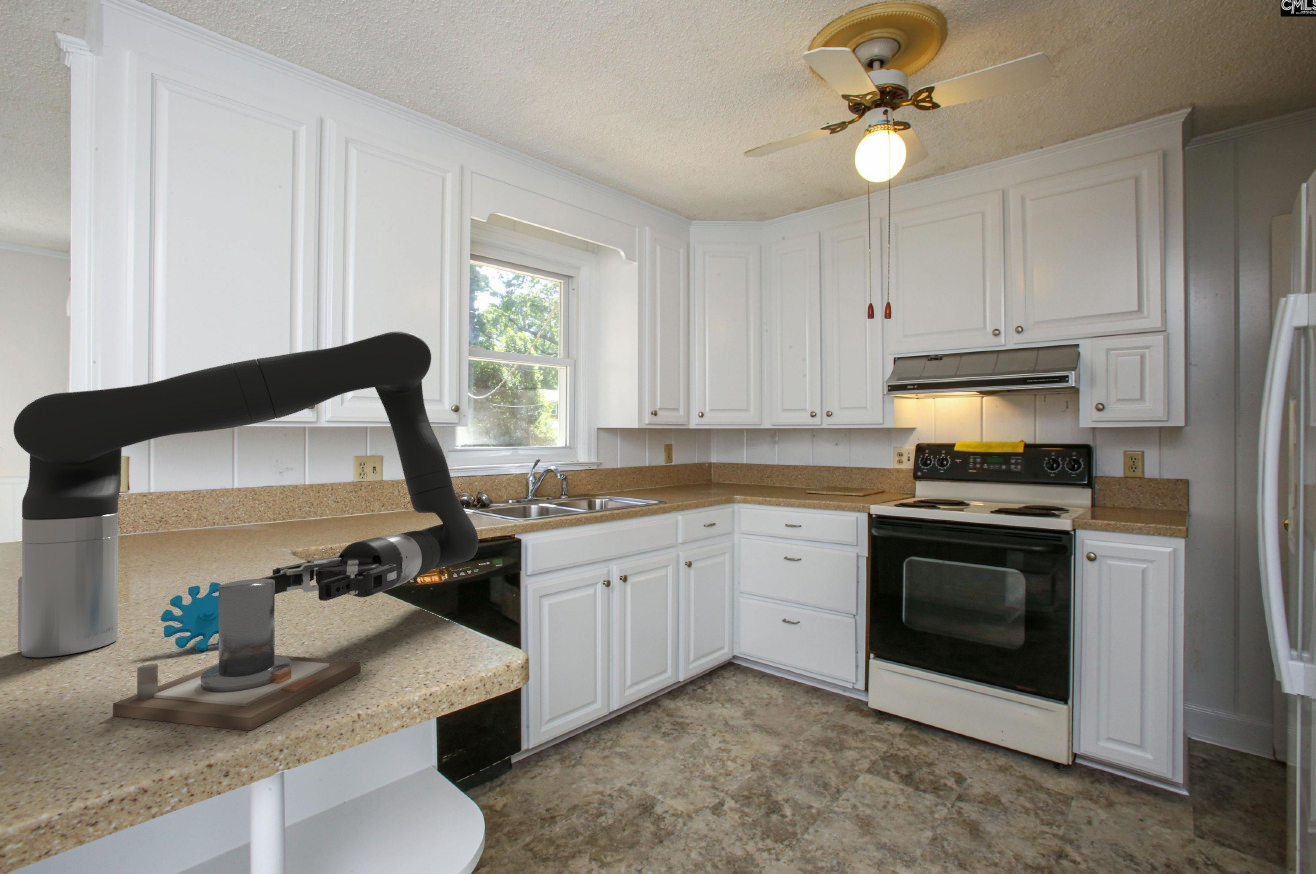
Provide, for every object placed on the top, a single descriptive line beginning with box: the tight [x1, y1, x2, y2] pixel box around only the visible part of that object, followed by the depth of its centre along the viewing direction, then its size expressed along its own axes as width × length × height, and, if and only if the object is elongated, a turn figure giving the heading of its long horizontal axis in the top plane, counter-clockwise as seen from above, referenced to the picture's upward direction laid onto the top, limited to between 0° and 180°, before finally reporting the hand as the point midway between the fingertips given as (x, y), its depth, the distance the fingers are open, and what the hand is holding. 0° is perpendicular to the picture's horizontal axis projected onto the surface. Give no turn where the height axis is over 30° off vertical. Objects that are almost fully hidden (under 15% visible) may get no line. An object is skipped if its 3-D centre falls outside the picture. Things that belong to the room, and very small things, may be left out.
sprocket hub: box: [201, 578, 291, 693], centre depth 66 cm, size 9×8×10 cm
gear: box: [160, 581, 222, 652], centre depth 84 cm, size 11×6×10 cm
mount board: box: [112, 654, 362, 732], centre depth 66 cm, size 16×15×4 cm
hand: (289, 590), depth 72 cm, fingers open, 8 cm apart
